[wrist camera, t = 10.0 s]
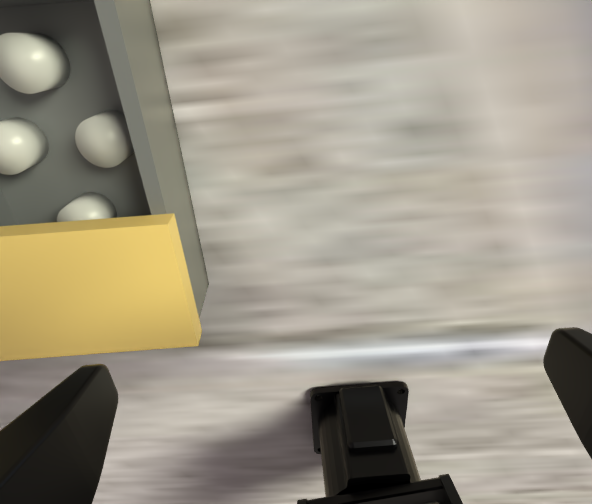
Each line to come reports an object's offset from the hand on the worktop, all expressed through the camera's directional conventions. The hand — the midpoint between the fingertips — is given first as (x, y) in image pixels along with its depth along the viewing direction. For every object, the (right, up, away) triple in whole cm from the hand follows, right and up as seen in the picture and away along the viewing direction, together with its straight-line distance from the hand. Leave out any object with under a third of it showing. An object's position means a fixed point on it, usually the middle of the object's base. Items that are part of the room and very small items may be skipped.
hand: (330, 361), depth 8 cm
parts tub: (-11, +6, +10) cm, 16 cm away
